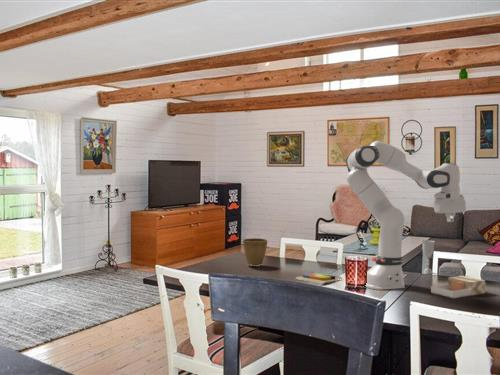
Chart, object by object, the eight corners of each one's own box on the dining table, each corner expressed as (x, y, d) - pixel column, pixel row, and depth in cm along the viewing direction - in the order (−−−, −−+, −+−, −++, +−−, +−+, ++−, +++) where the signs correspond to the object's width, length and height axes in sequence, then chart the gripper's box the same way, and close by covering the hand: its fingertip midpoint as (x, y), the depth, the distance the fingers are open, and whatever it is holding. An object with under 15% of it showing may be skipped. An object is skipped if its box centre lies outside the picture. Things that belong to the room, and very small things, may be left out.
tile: (463, 293, 217) (460, 293, 215) (454, 290, 221) (451, 291, 220) (464, 282, 217) (460, 282, 215) (454, 280, 221) (451, 280, 220)
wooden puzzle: (342, 280, 247) (342, 274, 247) (323, 286, 233) (323, 279, 233) (315, 276, 259) (315, 269, 259) (294, 281, 245) (294, 274, 245)
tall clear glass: (425, 274, 263) (425, 242, 263) (418, 271, 270) (419, 240, 269) (437, 273, 264) (437, 241, 264) (430, 271, 271) (430, 240, 271)
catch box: (453, 298, 208) (453, 291, 208) (430, 292, 219) (431, 286, 219) (470, 295, 214) (470, 288, 214) (448, 290, 225) (448, 283, 225)
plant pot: (238, 265, 288) (238, 239, 288) (260, 263, 295) (260, 237, 294) (248, 269, 275) (249, 241, 275) (271, 267, 281) (271, 240, 281)
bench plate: (470, 295, 214) (470, 282, 214) (448, 290, 225) (448, 277, 225) (484, 293, 219) (484, 280, 219) (462, 287, 229) (462, 275, 229)
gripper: (458, 194, 250) (458, 220, 250) (431, 194, 240) (431, 221, 240) (469, 194, 244) (468, 221, 244) (442, 195, 234) (442, 222, 235)
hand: (450, 221), depth 242 cm, fingers closed
